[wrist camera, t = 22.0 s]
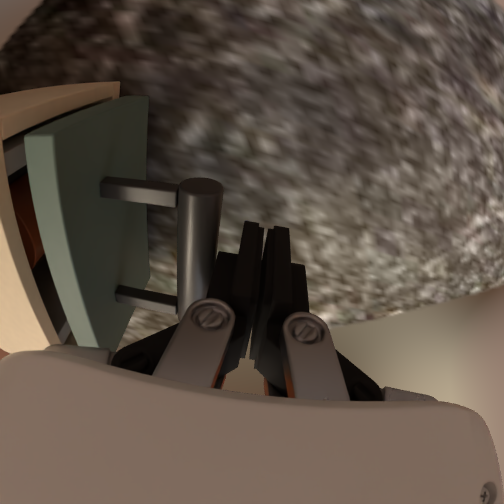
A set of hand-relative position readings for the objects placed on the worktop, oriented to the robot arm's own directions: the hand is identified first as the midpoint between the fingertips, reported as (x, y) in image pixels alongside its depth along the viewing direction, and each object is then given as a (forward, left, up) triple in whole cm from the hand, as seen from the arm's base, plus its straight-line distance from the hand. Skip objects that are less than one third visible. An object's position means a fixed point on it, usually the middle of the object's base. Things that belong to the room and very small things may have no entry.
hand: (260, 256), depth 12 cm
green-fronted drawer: (-2, -10, -3) cm, 10 cm away
